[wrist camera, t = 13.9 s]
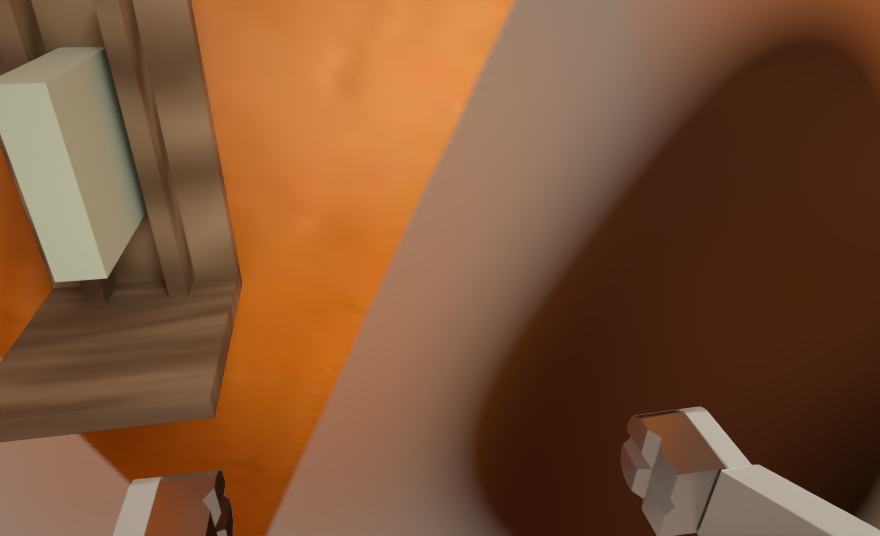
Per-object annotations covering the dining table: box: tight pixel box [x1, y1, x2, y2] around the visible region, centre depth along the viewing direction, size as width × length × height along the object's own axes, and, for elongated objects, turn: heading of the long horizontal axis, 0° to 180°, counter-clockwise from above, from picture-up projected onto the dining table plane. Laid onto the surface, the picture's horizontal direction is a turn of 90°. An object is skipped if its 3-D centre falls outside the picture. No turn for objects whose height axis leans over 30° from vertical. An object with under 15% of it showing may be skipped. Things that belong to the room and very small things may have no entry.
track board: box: [0, 0, 242, 442], centre depth 32 cm, size 20×12×14 cm, turn 179°
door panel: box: [0, 47, 147, 282], centre depth 32 cm, size 10×2×9 cm, turn 179°
